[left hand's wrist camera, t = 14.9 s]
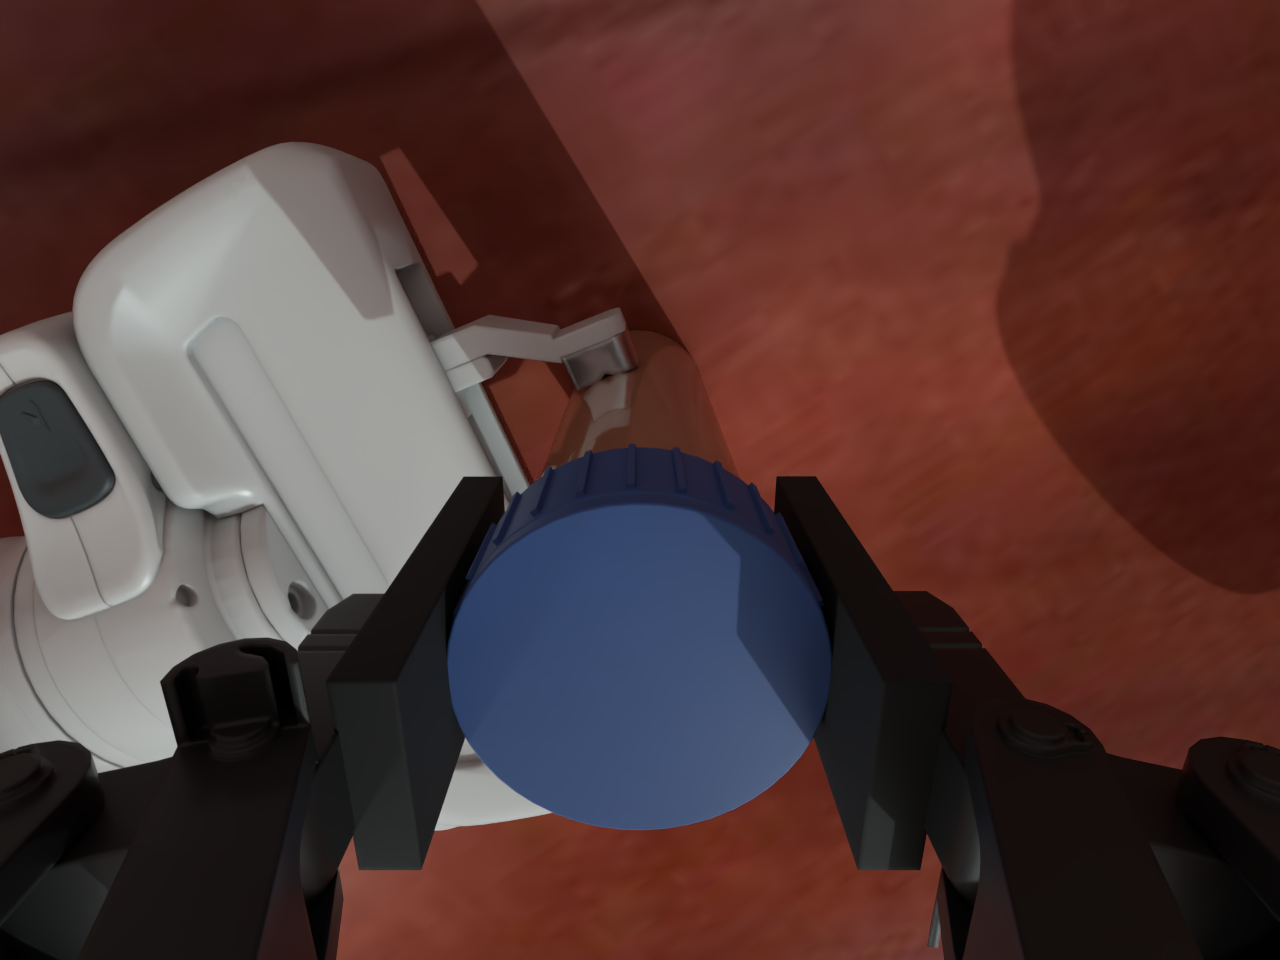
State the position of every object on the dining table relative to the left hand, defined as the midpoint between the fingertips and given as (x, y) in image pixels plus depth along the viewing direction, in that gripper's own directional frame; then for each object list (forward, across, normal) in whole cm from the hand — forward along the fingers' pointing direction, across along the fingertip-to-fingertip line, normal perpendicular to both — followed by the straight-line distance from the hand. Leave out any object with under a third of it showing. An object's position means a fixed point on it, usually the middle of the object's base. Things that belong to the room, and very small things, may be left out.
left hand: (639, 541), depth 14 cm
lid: (-4, 0, 0) cm, 4 cm away
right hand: (+6, -1, 0) cm, 6 cm away
